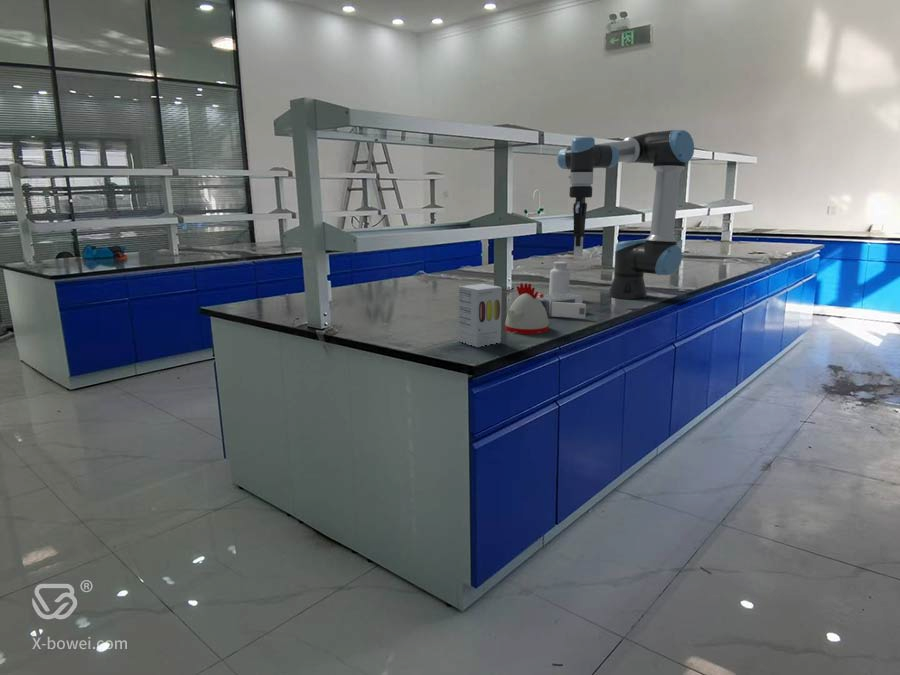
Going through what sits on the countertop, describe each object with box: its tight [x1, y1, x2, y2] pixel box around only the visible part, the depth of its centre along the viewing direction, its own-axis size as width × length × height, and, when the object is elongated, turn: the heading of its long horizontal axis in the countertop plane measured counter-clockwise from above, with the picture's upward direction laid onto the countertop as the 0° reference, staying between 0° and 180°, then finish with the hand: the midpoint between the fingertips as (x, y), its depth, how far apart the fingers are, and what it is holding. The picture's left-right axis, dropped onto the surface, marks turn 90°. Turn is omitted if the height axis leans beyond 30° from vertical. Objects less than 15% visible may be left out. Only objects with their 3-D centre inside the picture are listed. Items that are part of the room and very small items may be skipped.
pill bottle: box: [548, 261, 571, 294], centre depth 246 cm, size 8×8×15 cm
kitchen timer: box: [504, 282, 550, 335], centre depth 194 cm, size 14×14×15 cm
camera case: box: [537, 292, 584, 318], centre depth 220 cm, size 19×10×7 cm, turn 118°
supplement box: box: [458, 283, 503, 348], centre depth 177 cm, size 10×9×17 cm
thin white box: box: [548, 301, 587, 319], centre depth 210 cm, size 13×2×5 cm, turn 68°
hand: (578, 255), depth 210 cm, fingers closed
